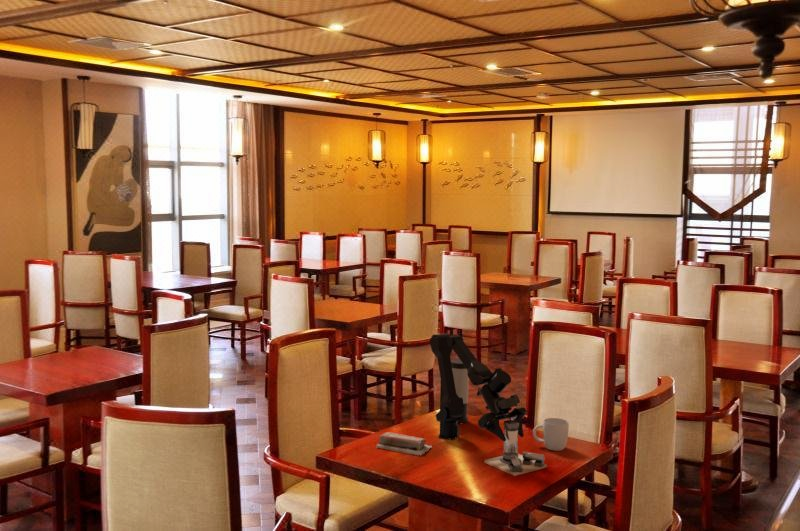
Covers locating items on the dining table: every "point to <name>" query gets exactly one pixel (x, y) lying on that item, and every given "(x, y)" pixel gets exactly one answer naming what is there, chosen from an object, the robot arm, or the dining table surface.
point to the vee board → (503, 466)
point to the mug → (553, 433)
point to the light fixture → (459, 385)
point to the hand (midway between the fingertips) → (513, 438)
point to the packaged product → (403, 443)
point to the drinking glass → (510, 439)
